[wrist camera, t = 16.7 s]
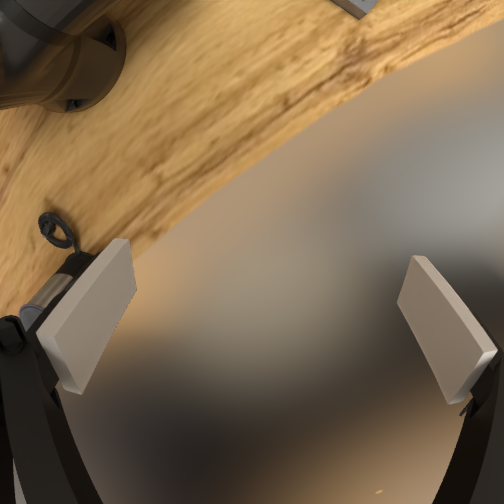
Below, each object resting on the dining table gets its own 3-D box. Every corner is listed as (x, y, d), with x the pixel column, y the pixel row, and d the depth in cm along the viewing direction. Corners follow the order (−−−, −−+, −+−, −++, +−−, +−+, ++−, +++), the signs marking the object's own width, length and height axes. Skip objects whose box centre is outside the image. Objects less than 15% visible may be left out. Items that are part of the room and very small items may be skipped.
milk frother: (101, 307, 49) (65, 366, 36) (34, 261, 45) (-13, 308, 32) (128, 247, 43) (83, 307, 30) (50, 196, 40) (-12, 236, 26)
